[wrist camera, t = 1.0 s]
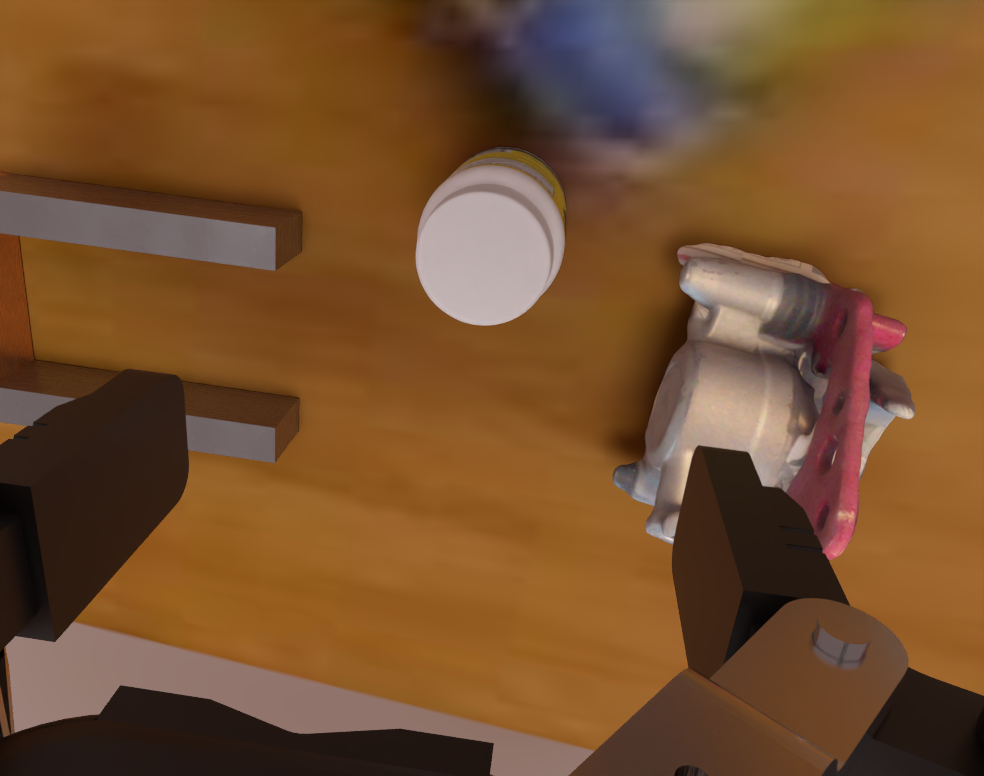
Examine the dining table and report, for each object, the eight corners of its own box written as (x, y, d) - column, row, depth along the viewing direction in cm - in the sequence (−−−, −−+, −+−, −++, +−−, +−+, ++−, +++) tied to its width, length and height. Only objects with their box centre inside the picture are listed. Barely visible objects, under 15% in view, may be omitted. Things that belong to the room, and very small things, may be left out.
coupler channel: (-28, 168, 32) (-84, 179, 30) (301, 212, 32) (275, 227, 29) (4, 387, 36) (-44, 415, 33) (298, 430, 36) (274, 462, 33)
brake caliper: (874, 580, 33) (750, 705, 24) (656, 446, 39) (492, 505, 30) (1022, 328, 28) (936, 366, 19) (749, 220, 34) (588, 211, 25)
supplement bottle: (529, 291, 32) (513, 367, 24) (424, 233, 32) (373, 293, 24) (591, 183, 30) (594, 229, 22) (480, 121, 30) (445, 146, 22)
